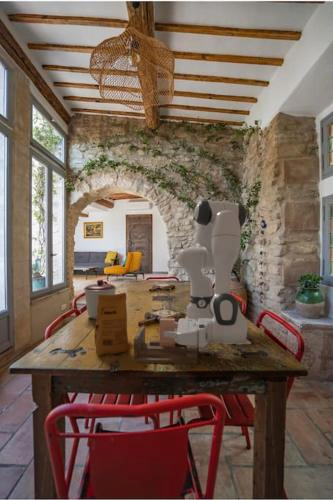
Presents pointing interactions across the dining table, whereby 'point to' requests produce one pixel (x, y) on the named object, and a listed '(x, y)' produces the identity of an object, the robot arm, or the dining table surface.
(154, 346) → the rack
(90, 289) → the canister
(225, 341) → the robot arm
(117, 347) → the coffee package
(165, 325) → the tile
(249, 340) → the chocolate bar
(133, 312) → the dining table surface
